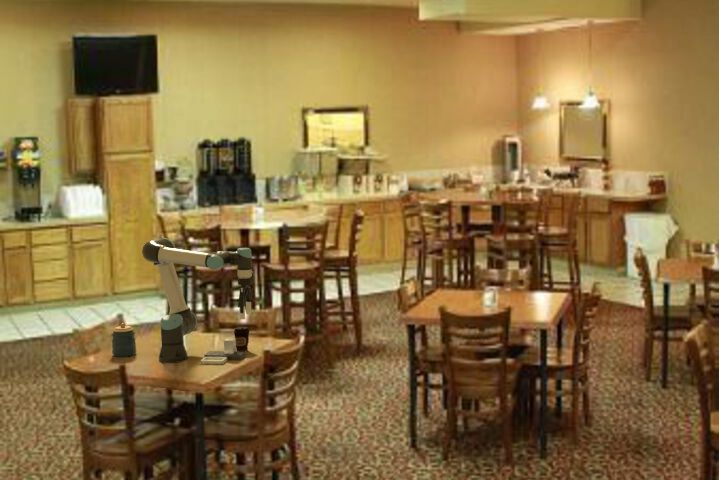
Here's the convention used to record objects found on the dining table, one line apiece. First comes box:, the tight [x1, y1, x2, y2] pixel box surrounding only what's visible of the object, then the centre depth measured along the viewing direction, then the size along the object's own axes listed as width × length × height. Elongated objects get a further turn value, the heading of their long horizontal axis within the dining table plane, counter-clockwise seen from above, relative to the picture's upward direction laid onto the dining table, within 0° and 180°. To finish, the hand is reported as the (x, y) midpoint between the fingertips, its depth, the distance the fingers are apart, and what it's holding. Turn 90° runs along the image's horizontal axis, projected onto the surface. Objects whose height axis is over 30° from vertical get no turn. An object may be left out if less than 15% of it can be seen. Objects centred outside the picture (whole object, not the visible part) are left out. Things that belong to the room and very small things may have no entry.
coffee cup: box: [233, 326, 250, 353], centre depth 551 cm, size 9×8×13 cm
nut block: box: [223, 338, 236, 355], centre depth 536 cm, size 5×5×10 cm
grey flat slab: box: [203, 350, 246, 361], centre depth 537 cm, size 20×9×2 cm, turn 81°
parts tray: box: [199, 357, 229, 365], centre depth 528 cm, size 12×9×2 cm
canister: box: [110, 322, 137, 358], centre depth 550 cm, size 13×13×18 cm
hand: (245, 316), depth 537 cm, fingers open, 13 cm apart
